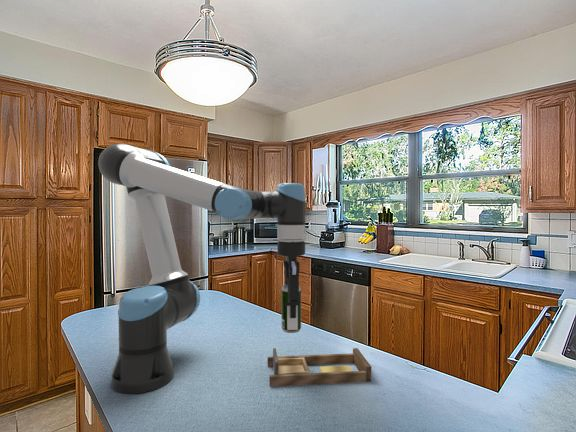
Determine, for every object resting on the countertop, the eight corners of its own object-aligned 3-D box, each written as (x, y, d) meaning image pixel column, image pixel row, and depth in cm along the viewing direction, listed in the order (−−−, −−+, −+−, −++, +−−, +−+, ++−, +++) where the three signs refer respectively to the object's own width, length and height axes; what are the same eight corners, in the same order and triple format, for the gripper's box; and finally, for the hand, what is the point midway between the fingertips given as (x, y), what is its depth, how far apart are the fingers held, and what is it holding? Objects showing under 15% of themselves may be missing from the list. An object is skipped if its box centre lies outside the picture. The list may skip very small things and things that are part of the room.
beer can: (288, 334, 90) (288, 289, 90) (277, 328, 94) (277, 285, 94) (305, 330, 93) (305, 286, 92) (293, 325, 97) (293, 283, 97)
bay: (269, 386, 87) (269, 370, 87) (267, 365, 99) (267, 351, 99) (371, 381, 90) (371, 366, 90) (357, 361, 102) (357, 348, 102)
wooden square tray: (275, 382, 89) (275, 362, 89) (272, 366, 98) (273, 348, 98) (309, 380, 90) (309, 360, 90) (304, 365, 99) (304, 347, 99)
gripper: (310, 243, 84) (310, 337, 85) (300, 237, 103) (300, 314, 103) (280, 243, 84) (280, 338, 84) (275, 237, 102) (275, 315, 102)
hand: (291, 325), depth 93 cm, fingers closed on beer can, 5 cm apart
